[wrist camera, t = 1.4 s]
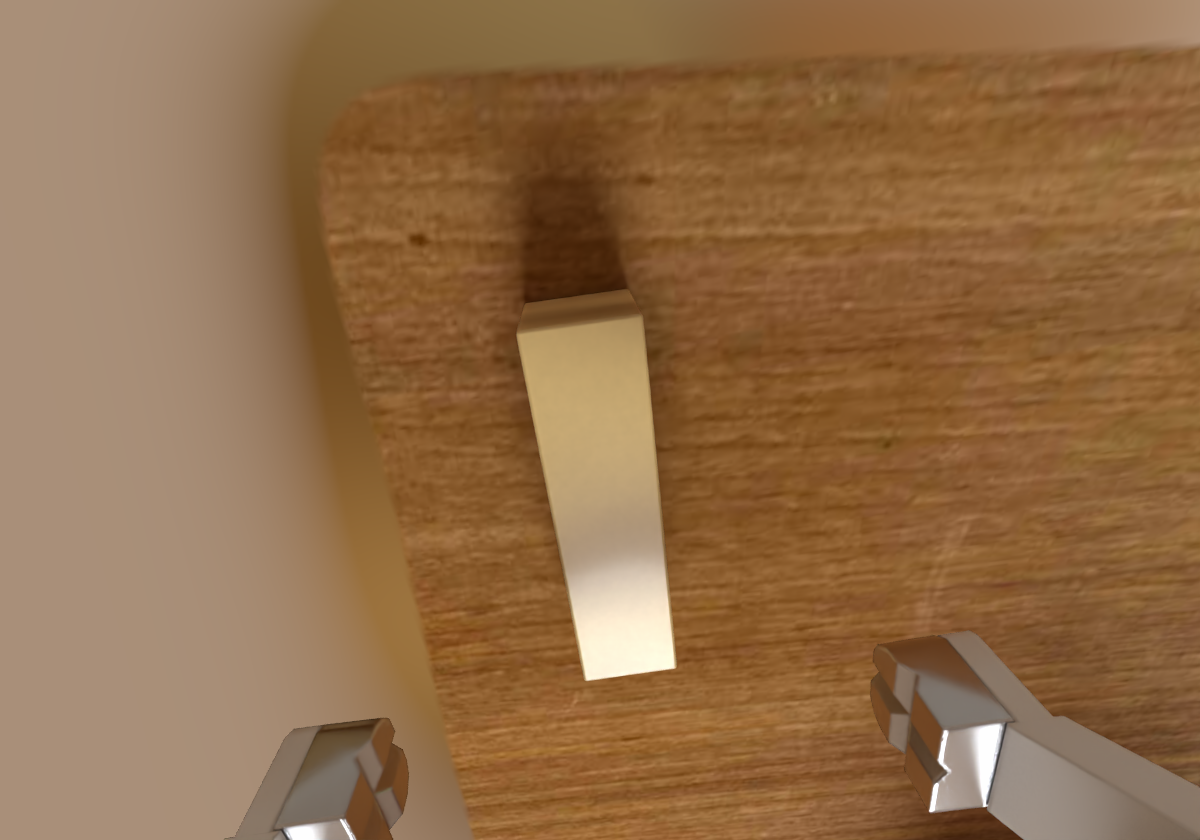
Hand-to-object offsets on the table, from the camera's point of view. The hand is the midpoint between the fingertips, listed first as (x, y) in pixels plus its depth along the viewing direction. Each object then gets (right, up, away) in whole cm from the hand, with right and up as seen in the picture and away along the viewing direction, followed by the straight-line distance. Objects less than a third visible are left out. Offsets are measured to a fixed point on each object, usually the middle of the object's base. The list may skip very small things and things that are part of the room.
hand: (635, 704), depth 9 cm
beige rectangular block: (-1, +3, +6) cm, 7 cm away
